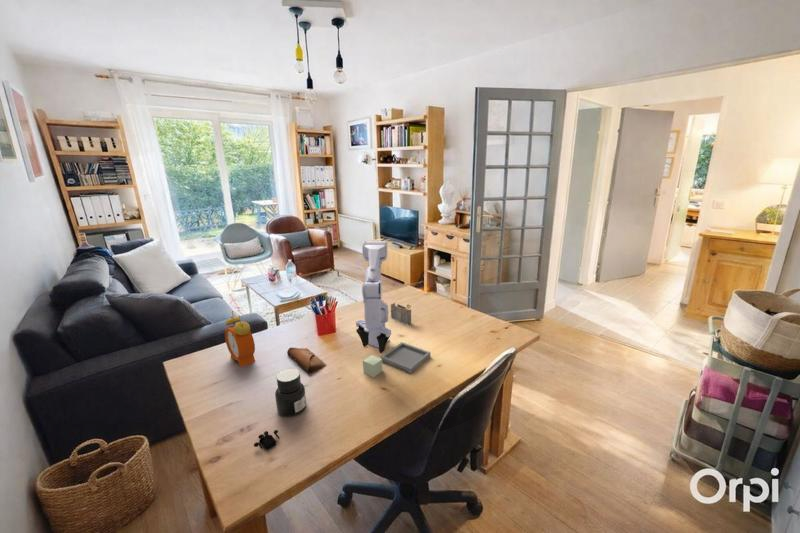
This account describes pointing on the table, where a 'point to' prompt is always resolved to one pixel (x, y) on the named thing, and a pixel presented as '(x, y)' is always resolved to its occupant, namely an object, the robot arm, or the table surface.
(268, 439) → the black knobbed ornament
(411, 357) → the tray
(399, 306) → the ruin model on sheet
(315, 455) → the table surface
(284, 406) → the ink bottle
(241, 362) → the alarm clock
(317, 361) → the sunglasses case
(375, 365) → the cube
